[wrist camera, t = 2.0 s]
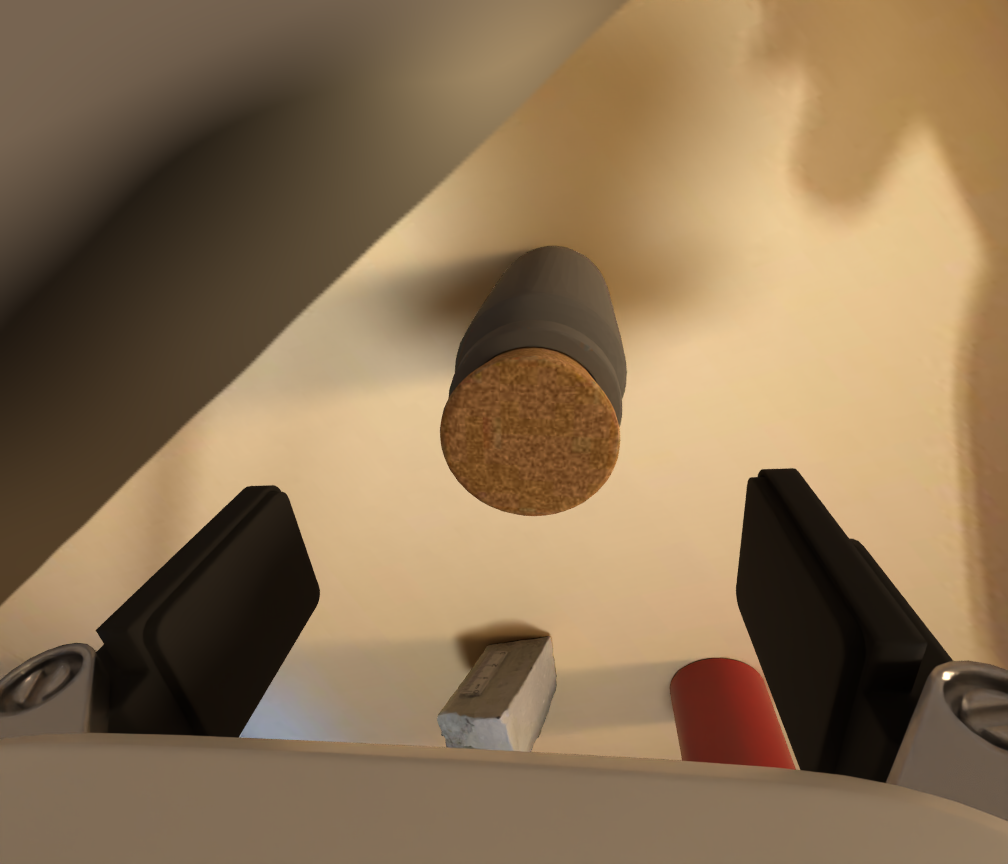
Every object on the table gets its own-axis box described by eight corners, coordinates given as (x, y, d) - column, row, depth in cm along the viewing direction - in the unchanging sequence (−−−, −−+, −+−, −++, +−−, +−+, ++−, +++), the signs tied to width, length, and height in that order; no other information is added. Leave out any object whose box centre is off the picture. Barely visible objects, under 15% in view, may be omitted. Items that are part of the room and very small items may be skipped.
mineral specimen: (537, 606, 35) (541, 733, 29) (565, 668, 41) (573, 787, 34) (437, 621, 37) (420, 745, 31) (476, 678, 42) (468, 794, 36)
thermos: (671, 656, 37) (709, 854, 26) (770, 659, 36) (850, 865, 25) (668, 716, 40) (701, 915, 29) (759, 720, 39) (828, 928, 28)
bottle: (583, 373, 28) (590, 559, 15) (481, 337, 28) (397, 494, 15) (628, 268, 25) (686, 382, 12) (515, 227, 25) (450, 298, 12)
